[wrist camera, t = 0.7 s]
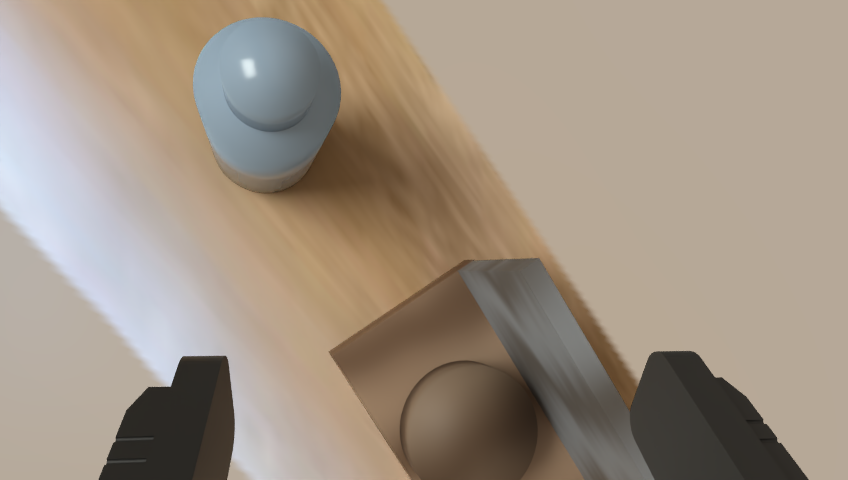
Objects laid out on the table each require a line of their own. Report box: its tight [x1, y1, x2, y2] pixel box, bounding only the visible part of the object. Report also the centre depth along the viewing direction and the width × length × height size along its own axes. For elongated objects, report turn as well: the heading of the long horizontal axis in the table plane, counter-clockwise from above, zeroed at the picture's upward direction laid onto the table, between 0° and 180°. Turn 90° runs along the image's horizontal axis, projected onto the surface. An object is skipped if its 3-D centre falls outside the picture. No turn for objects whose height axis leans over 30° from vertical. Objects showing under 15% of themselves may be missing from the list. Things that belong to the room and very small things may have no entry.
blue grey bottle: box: [193, 18, 341, 193], centre depth 26 cm, size 5×5×12 cm
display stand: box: [329, 258, 654, 480], centre depth 29 cm, size 14×9×10 cm, turn 32°
